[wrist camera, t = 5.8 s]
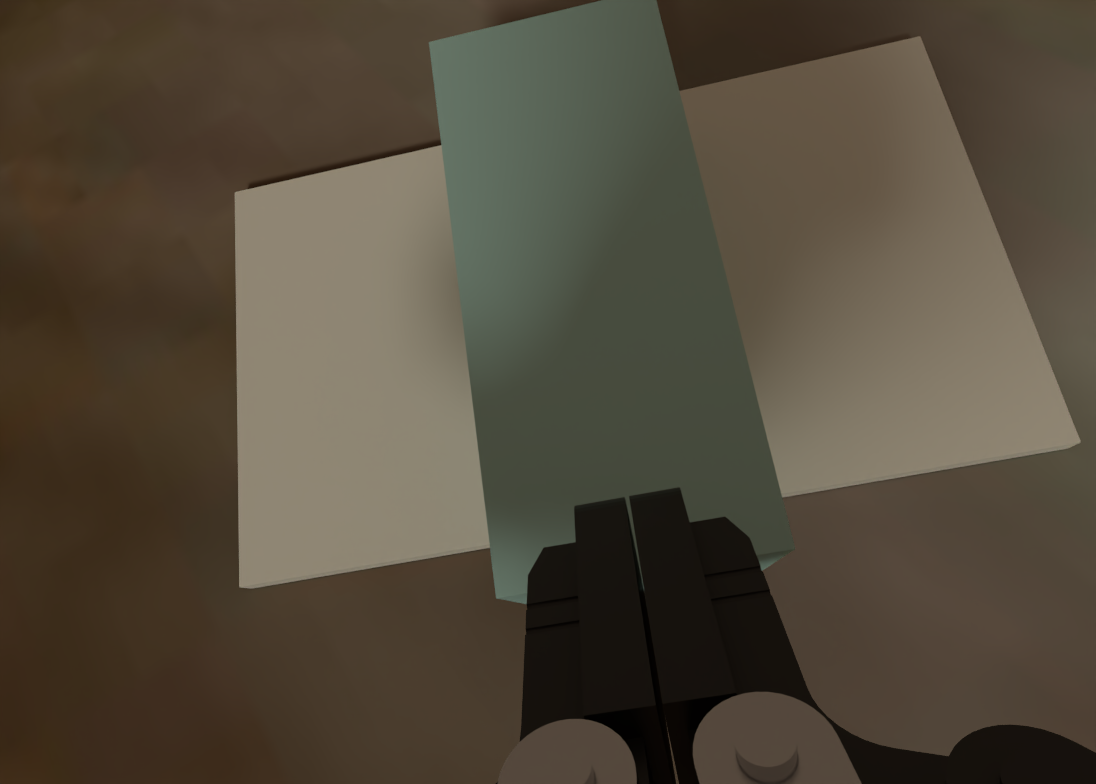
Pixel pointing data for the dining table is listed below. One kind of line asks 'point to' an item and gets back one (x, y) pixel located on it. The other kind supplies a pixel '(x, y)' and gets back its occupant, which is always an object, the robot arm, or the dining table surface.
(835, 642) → the dining table surface
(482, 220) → the teal block
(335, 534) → the cream mat
